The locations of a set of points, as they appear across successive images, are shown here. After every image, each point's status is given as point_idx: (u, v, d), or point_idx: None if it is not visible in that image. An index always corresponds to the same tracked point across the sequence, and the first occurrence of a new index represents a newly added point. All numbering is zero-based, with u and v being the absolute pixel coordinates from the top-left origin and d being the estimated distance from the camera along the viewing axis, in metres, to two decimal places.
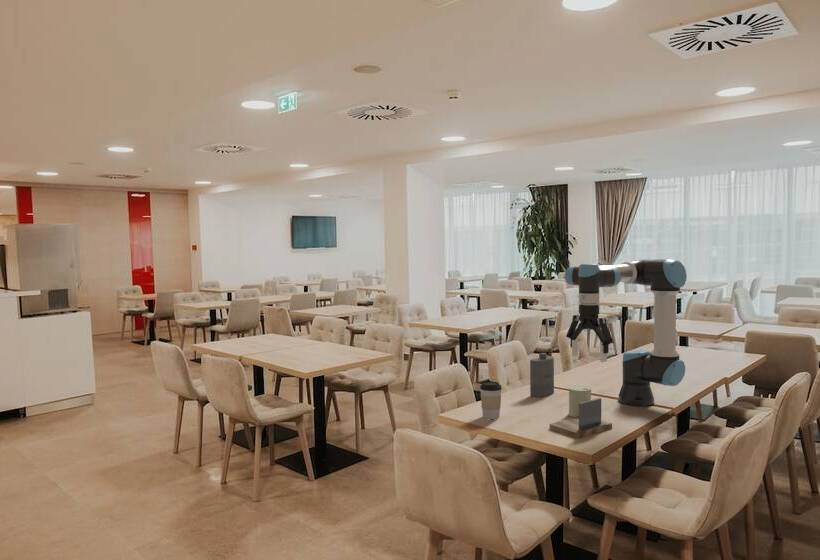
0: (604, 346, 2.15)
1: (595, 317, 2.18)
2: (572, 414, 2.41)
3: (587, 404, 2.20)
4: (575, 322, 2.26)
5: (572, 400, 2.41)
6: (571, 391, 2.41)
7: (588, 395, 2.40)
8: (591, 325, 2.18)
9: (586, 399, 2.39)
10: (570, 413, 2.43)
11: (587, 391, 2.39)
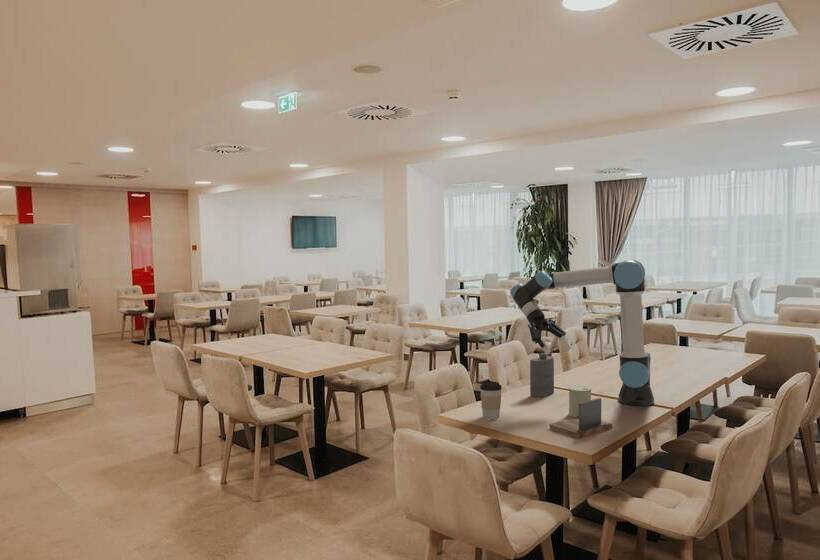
0: None
1: None
2: (572, 414, 2.41)
3: (587, 404, 2.20)
4: None
5: (572, 400, 2.41)
6: (571, 391, 2.41)
7: (588, 395, 2.40)
8: None
9: (586, 399, 2.39)
10: (570, 413, 2.43)
11: (587, 391, 2.39)
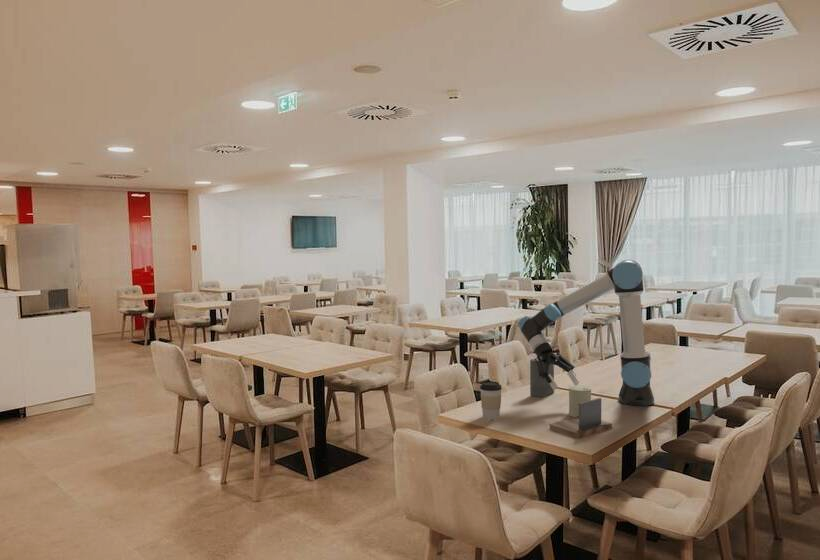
0: None
1: (539, 357, 2.55)
2: (572, 414, 2.41)
3: (587, 404, 2.20)
4: None
5: (572, 400, 2.41)
6: (571, 391, 2.41)
7: (588, 395, 2.40)
8: None
9: (586, 399, 2.39)
10: (570, 413, 2.43)
11: (587, 391, 2.39)
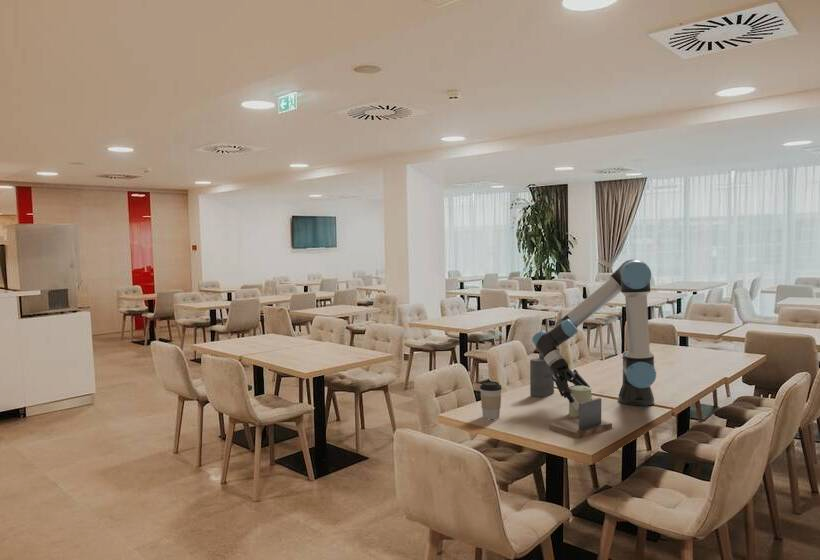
0: None
1: (555, 374, 2.49)
2: (572, 414, 2.41)
3: (587, 404, 2.20)
4: (575, 377, 2.52)
5: None
6: (571, 391, 2.41)
7: (588, 395, 2.40)
8: None
9: (586, 399, 2.39)
10: (570, 413, 2.43)
11: (587, 391, 2.39)
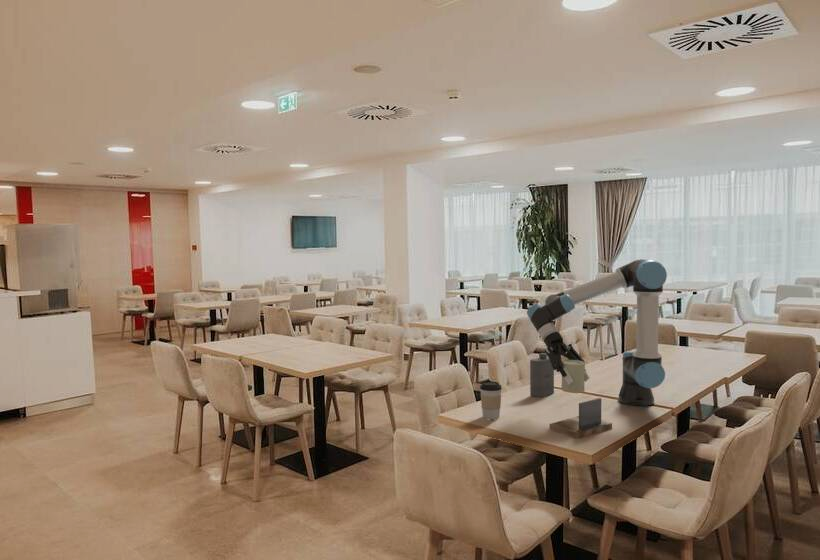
0: None
1: None
2: (564, 389, 2.33)
3: (587, 404, 2.20)
4: (569, 351, 2.43)
5: None
6: (564, 365, 2.33)
7: (581, 369, 2.31)
8: None
9: (579, 373, 2.30)
10: (562, 388, 2.34)
11: (580, 365, 2.30)
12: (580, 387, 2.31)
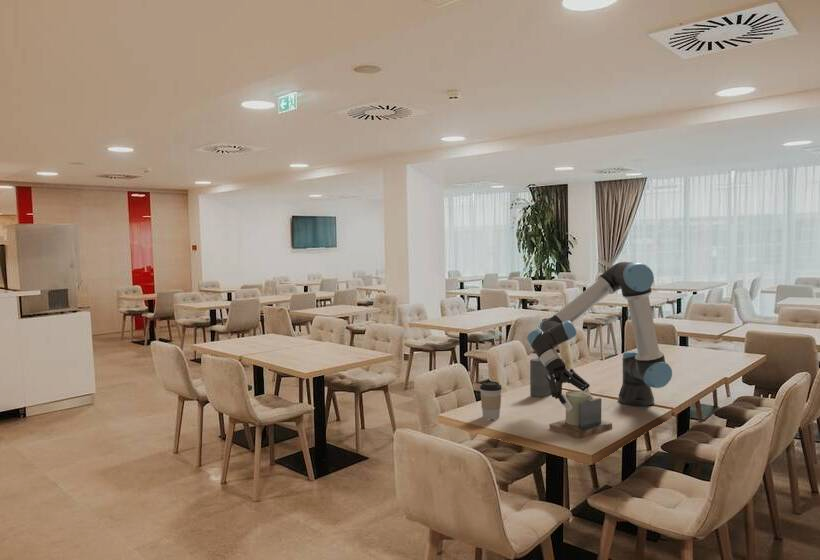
0: None
1: None
2: (569, 421, 2.25)
3: (587, 404, 2.20)
4: (572, 377, 2.36)
5: None
6: (568, 397, 2.25)
7: None
8: None
9: None
10: (567, 420, 2.26)
11: (585, 397, 2.23)
12: None
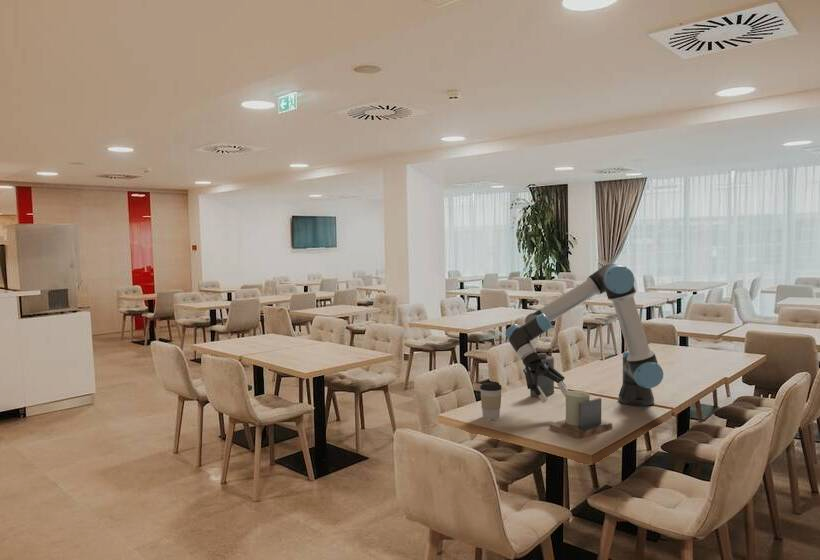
0: None
1: None
2: (569, 422, 2.25)
3: (587, 404, 2.20)
4: None
5: (569, 407, 2.25)
6: (568, 397, 2.25)
7: None
8: None
9: None
10: (567, 420, 2.26)
11: (585, 397, 2.23)
12: None
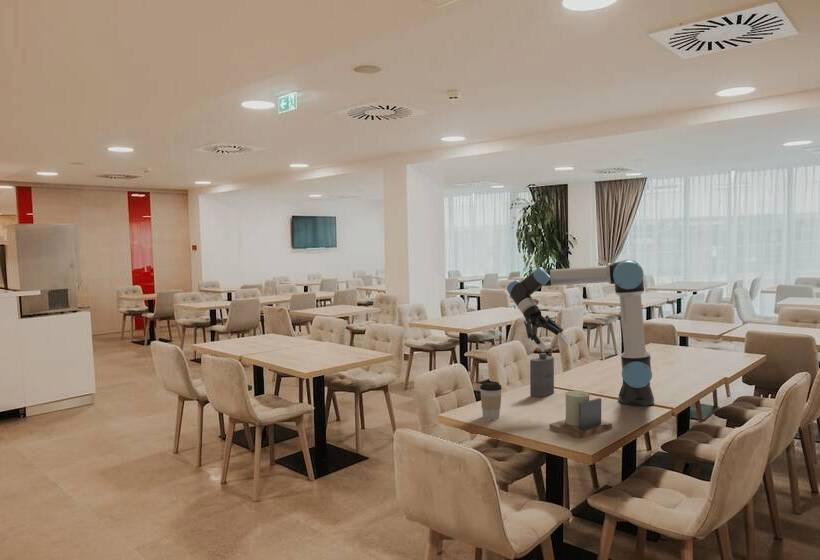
0: None
1: None
2: (569, 422, 2.25)
3: (587, 404, 2.20)
4: None
5: (569, 407, 2.25)
6: (568, 397, 2.25)
7: None
8: None
9: None
10: (567, 421, 2.26)
11: (585, 397, 2.23)
12: None
